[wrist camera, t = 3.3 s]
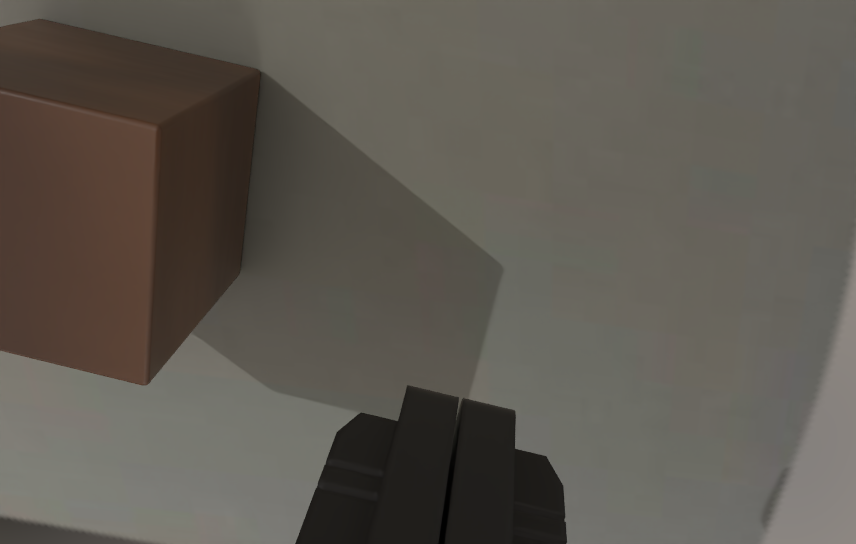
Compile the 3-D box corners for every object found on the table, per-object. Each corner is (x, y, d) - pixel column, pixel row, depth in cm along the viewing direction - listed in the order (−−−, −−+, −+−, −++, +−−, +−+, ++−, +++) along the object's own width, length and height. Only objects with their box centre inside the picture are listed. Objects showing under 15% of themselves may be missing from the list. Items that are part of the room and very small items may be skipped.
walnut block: (262, 68, 17) (161, 126, 12) (240, 274, 19) (146, 388, 14) (38, 17, 17) (-146, 54, 12) (42, 227, 19) (-113, 324, 14)
